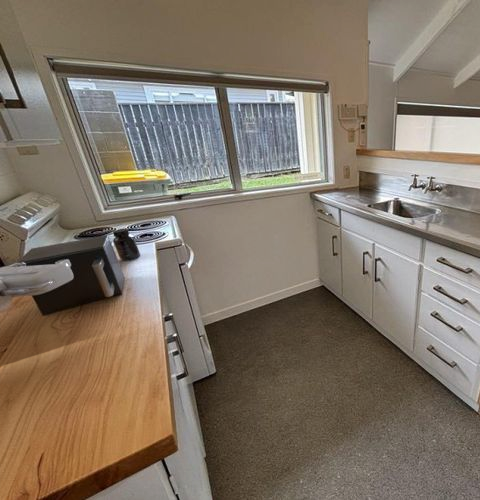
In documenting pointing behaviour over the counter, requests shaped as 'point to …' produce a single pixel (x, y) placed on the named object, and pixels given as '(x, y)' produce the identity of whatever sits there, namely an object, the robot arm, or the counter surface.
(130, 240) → the supplement bottle
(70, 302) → the cupboard door
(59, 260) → the robot arm
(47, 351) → the counter surface
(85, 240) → the cupboard
